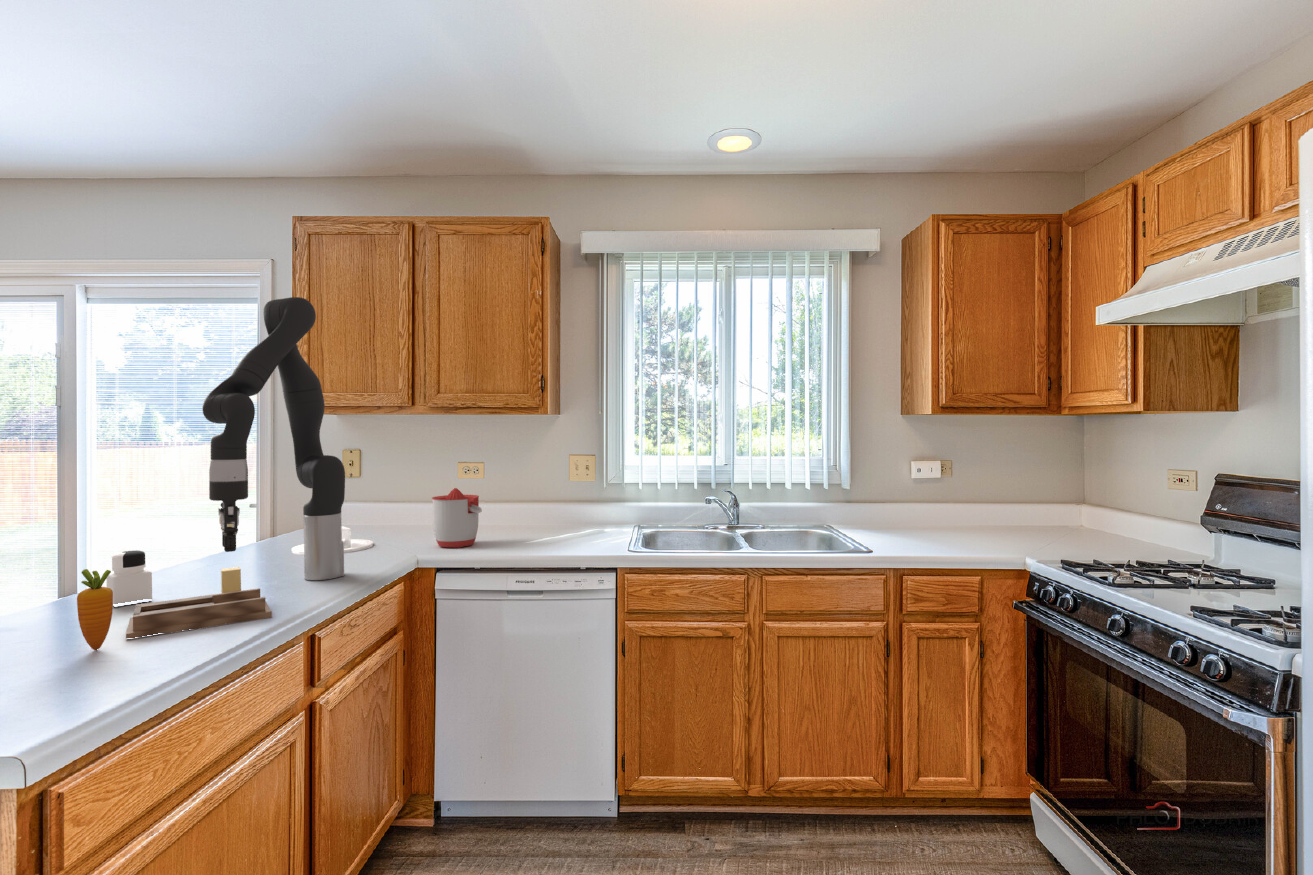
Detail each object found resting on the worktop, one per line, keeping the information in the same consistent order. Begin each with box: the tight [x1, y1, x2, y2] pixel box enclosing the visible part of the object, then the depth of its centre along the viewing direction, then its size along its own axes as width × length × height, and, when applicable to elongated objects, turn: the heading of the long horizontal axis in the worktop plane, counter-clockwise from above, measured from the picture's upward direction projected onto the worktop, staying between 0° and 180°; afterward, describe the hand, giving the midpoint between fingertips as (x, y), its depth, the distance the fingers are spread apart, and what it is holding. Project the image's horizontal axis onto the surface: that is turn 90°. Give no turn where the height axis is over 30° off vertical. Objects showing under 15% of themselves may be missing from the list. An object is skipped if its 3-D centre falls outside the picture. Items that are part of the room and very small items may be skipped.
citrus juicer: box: [431, 487, 482, 549], centre depth 222 cm, size 16×17×20 cm
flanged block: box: [220, 566, 242, 593], centre depth 149 cm, size 7×7×8 cm
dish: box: [291, 525, 374, 556], centre depth 220 cm, size 25×25×11 cm
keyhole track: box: [125, 587, 273, 639], centre depth 135 cm, size 24×14×4 cm, turn 127°
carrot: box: [76, 568, 114, 651], centre depth 117 cm, size 5×5×15 cm
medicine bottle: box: [105, 549, 153, 604], centre depth 151 cm, size 7×7×12 cm
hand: (229, 548), depth 149 cm, fingers open, 8 cm apart
